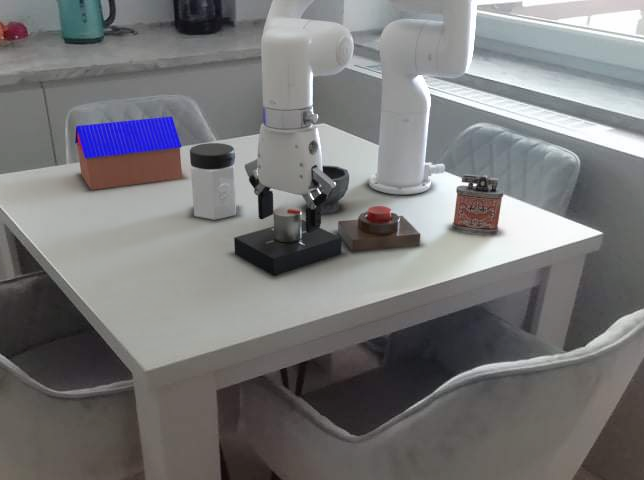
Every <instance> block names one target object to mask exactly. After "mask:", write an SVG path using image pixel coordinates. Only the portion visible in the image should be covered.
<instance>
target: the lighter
mask: <svg viewBox="0 0 644 480" xmlns="http://www.w3.org/2000/svg"><path fill="white" fill-rule="evenodd" d="M461 183H466V184H468V185H457V186H456V190H455V192H456V198H455V199H456V200H455V207H454V217H453V221H452V224H451V225H452V226H451V229H452V230H454V231H458V232H461V233H462V232H463V233H468V234H475V235H476V234H477V235H488V236H489V235H490V236H493V235H494V236H495V235H497V234H498V233H499V221H500V213H501V207H502V201H503V197H504V193H505V191H504V190H503V189H501V188H498V184H499V178H498V177H492V176H491V177H490V176H488V174H487V173H482V174H481V175H477V174H470V173H464V174H462V175H461ZM474 184H475V185H474Z"/></svg>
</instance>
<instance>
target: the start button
mask: <svg viewBox="0 0 644 480" xmlns="http://www.w3.org/2000/svg"><path fill="white" fill-rule="evenodd" d="M367 211H368V218H367V219H368V220H370V221H372V222H388V221H390V220H391V212H392V209H391V208H390V207H387V206H383V205H375V206H371V207H369V208H368V209H367Z"/></svg>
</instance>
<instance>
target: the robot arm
mask: <svg viewBox="0 0 644 480" xmlns="http://www.w3.org/2000/svg"><path fill="white" fill-rule="evenodd" d="M315 1H316V0H271V4H270V8H269V11H268V13H267V16H266V20H265V22H264V26H263V31H262V36H261V40H260V50H261V51H260V54H261V89H262V90H261V91H262V120H263V121H262V123H261V124H260V127H259V133H258V134H259V135H258V142H257V143H258V144H257V157H256V159H254V160H252V161H250V162H248V163H246V164H244V169H245V172H246V174H247V177H248V182H249V184H250V185H251V186H252V188H253V192H254V194H255V195H256V196H257V212H258V219H259V220H265V219H266V218H268V217H270V216H274V191H273V190H275V191H280V192H285V193H289V194H293V195H297V196H302V198H303V200H304V202H305V203H306V205H307V204H308V206H309V208H307V207H306V208H305V221H306V232H309V233H311V232H313V231H314V230H316V229H318V228H321V224H322V213H321V206H322V205H323V204H325V202H326V201H327V200H328V199H329V198H330V197H331V194H332V192H333V190H334V188H335V187H336V184H335V182H334V181H333V180H332V179H330V178H329V177H328V176H327V175H326V174H324V173H323V169H322V165H323V156H322V155H323V153H322V146H321V145H322V144H321V140H320V133H319V129H318V126H315V125H313V124H316V123H317V122H318V120H319V115H318V114H317V113H314V107H313V104H314V103H313V99H314V98H313V97H314V96H313V95H314V94H313V91H314V88H313V87H314V83H313V80H314V78H315V77H325V76H333V75H336V74H339V73H341V72H342V71H343V70H345V69H346V68H347V67H348V65H349V64H350V62H351V61H352V58H353V55H354V49H355V44H354V43H355V42H354V38H353V35H352V33H351V32H350V30H349V29H348V28H347V27H346V26H345V25H342V24H341V23H339V22H336V21H335V22H334V21H329V20H316V19H307V18H301V17H302V16H303V14H304V13H305V11H306V10H307V8H308V7H309V6H310V5H312V4H313V2H315ZM389 2H390V5H391V6H392V7H393V8H394V9H395V10H397V11H400V12H405V13H413V14H425V15H437V16H438V15H440V16H441V17H442V19H443V21H439V20H430V19H419V18H418V19H416V18H401V19H396V20H393V21H391V22H389V23H388V24H387V25H386V26H385V27H384V28H383V30H382V32H381V34H380V37H379V45H378V46H379V47H378V49H379V59H380V68H381V69H380V70H381V102H380V120H379V135H378V136H379V137H378V138H379V139H378V151H377V153H378V154H377V170H376V173H374V174H373V175H371V176H370V177H369V181H368V184H369V186H370V188H372V189H373V190H375V191H378V192H381V193H384V194H388V195H389V194H390V195H401V196H402V195H403V196H405V195H414V194H415V195H416V194H420V193H424V192H426V191H428V190H429V189H430V188H431V183H432V182H431V179H430V178H429V177H431V176H432V175H434V174H435V175H438V174H444V173H445V171H446V165H445V164H444V163H436V164H433V162H431V161H430V162H426V155H427V143H428V132H429V121H430V112H431V111H430V110H431V94H430V89H429V88H428V87H429V86H428V85H427V82H426V80H425V78H424V77H425V76H426V77H433V78H441V79H457V78H460V77H462V76H464V75H466V73H467V72H468V70H469V68H470V65H471V63H472V58H473V53H474V44H475V33H476V21H477V20H476V19H477V5H478V0H389ZM423 76H424V77H423ZM320 187H323V189H322V192H321V193H320V191H319V190H318V188H320ZM271 189H273V190H271ZM310 193H312V195H313V197H314V198H315V199H313V197H312V195H311V194H310Z"/></svg>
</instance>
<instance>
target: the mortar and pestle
mask: <svg viewBox="0 0 644 480" xmlns="http://www.w3.org/2000/svg"><path fill="white" fill-rule="evenodd" d="M322 169H323V173H324V174H326V175H327V176H328V177H329V178H330V179H332V180H333V181H334V182H335V184H336V187H335V188H334V190H333V192H332V194H331V197H330V198H329V199H328V200H327V201H326V202H325V204H323V205H322V206H321V215H323V214H325V215H326V214H331V213H335V212H337V211H338V210H340V207H339V201H340V200H341V199H342V198H344V197H345V195H346V193H347V191H348V189H349V184H350V173H349V171H348V169H347V168H343V167H340V166H337V165H324V164H322ZM322 189H323V187H320V188H318V190H319V191H320V193H321V192H322ZM310 194H311V195H312V193H310ZM312 197H313V195H312ZM313 199H315V198H314V197H313ZM307 208H309V206H308V204H307V203H306V209H307Z"/></svg>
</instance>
